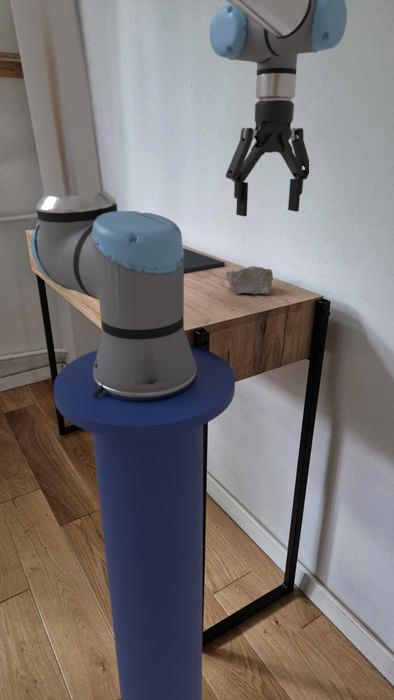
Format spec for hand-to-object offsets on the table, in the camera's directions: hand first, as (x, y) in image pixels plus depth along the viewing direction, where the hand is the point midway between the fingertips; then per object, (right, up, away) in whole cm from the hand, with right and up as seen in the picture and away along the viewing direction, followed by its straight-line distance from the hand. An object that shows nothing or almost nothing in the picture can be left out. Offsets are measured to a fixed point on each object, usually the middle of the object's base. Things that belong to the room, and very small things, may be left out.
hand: (268, 213), depth 103 cm
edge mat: (-19, -5, +29) cm, 35 cm away
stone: (-4, -16, +5) cm, 17 cm away
